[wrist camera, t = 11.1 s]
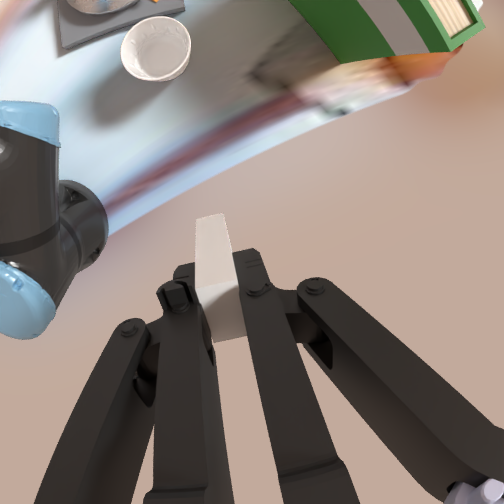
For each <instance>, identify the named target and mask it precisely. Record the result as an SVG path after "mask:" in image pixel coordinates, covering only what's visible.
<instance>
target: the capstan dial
mask: <svg viewBox="0 0 504 504" xmlns="http://www.w3.org/2000/svg"><path fill="white" fill-rule="evenodd" d="M139 1H140V0H67V2H68V3H69V4H70V5H71V6H72V7H74V8H75V9H77V10H78V11H80V12H82V13H84V14H87V15H92V16H104V15H110V14H114V13H117V12H120V11H122V10H125V9H127V8H129V7H131V6H132V5H134V4H136V3H137V2H139Z"/></svg>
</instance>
